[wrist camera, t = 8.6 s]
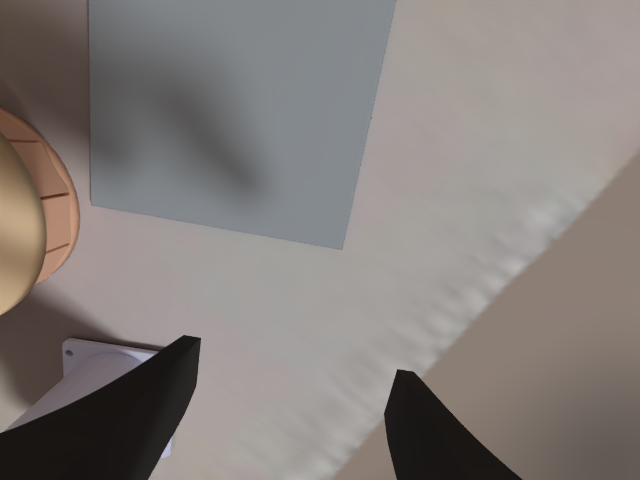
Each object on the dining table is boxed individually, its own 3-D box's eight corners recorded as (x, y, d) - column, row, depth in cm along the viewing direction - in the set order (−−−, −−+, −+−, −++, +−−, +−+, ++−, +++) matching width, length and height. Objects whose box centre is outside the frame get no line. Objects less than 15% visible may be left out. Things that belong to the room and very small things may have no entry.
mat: (341, 248, 21) (342, 249, 21) (95, 204, 20) (90, 205, 20) (403, -38, 17) (405, -42, 16) (92, -109, 16) (87, -116, 15)
